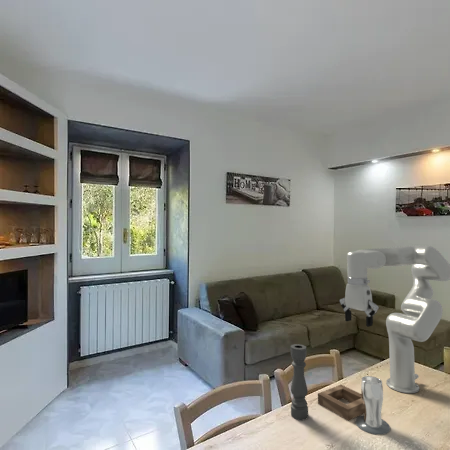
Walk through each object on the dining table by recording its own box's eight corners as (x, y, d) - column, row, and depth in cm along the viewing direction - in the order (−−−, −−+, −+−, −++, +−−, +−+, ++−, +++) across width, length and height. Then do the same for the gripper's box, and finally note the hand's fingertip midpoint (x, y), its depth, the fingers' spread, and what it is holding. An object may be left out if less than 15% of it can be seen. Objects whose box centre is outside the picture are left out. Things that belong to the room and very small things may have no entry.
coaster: (367, 412, 119) (367, 411, 119) (396, 427, 110) (396, 426, 110) (348, 422, 113) (348, 421, 113) (377, 438, 104) (377, 437, 104)
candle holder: (308, 412, 120) (307, 344, 121) (307, 421, 114) (306, 350, 115) (292, 409, 122) (291, 343, 123) (289, 418, 116) (288, 348, 117)
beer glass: (386, 430, 107) (385, 385, 108) (364, 428, 109) (363, 383, 109) (380, 419, 114) (379, 376, 115) (360, 417, 116) (359, 375, 116)
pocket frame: (341, 394, 133) (341, 384, 133) (372, 409, 121) (371, 398, 121) (317, 403, 126) (317, 393, 126) (348, 421, 114) (348, 409, 114)
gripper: (382, 283, 126) (384, 326, 126) (345, 278, 141) (346, 317, 140) (371, 284, 122) (372, 330, 122) (334, 280, 137) (335, 320, 136)
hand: (358, 323), depth 131 cm, fingers open, 9 cm apart
